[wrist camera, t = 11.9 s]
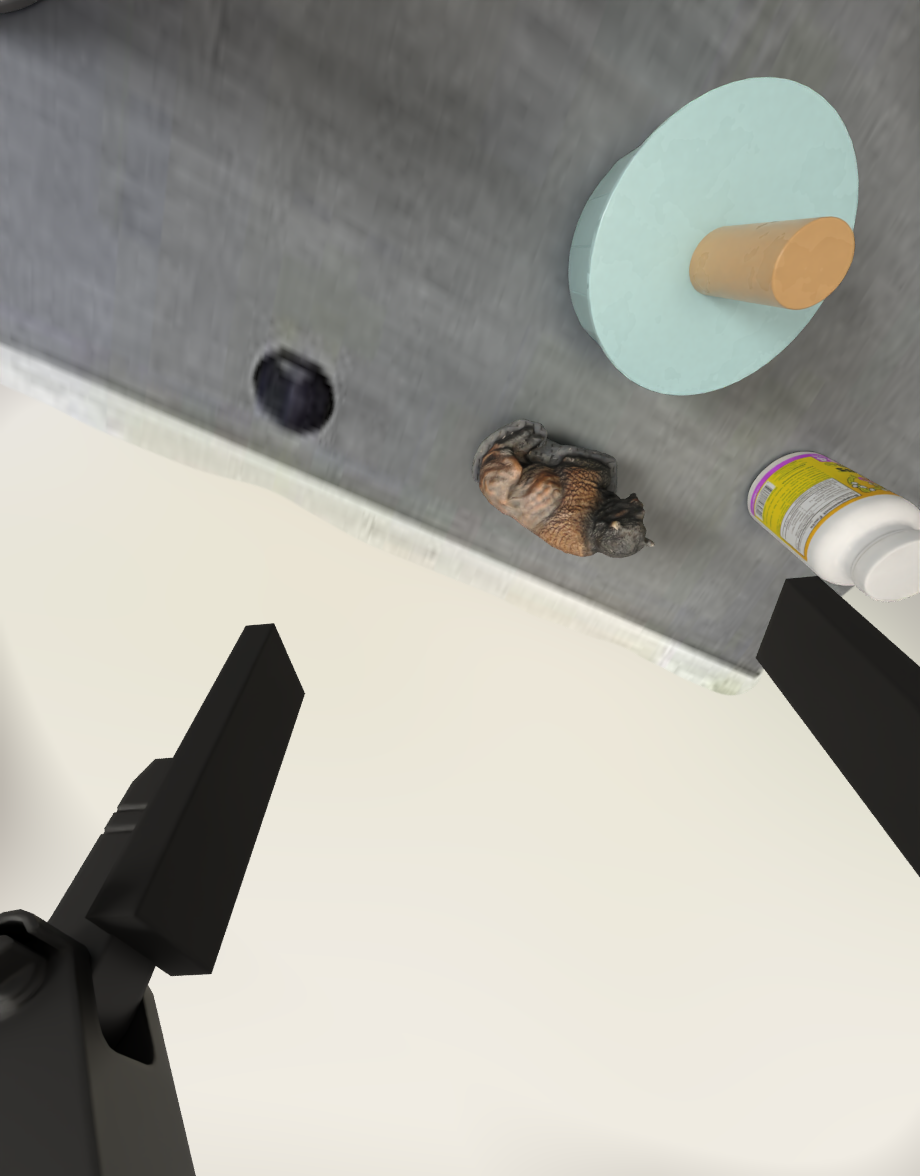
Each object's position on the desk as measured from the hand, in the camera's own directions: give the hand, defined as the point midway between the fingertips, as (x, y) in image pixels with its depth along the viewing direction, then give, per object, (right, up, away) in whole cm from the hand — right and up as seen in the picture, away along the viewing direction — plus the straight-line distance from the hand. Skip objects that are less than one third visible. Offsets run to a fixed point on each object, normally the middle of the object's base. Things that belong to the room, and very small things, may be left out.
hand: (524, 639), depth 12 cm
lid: (+11, +18, +11) cm, 24 cm away
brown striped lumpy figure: (+5, +11, +25) cm, 28 cm away
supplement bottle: (+26, +10, +26) cm, 38 cm away
